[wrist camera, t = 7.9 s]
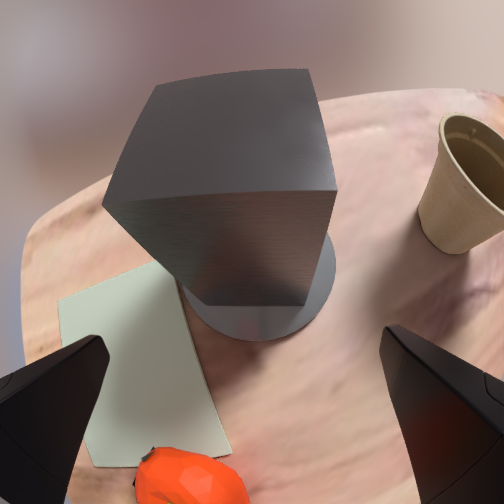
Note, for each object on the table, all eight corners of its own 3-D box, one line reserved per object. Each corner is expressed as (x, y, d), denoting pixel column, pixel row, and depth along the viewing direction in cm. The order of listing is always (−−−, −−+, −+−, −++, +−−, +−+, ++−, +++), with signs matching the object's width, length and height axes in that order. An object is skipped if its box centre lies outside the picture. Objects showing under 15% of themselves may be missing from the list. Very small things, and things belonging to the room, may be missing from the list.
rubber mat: (232, 451, 14) (231, 453, 14) (96, 465, 13) (94, 466, 13) (170, 257, 20) (168, 255, 20) (60, 302, 20) (57, 300, 19)
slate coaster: (359, 303, 17) (362, 301, 17) (207, 363, 17) (204, 363, 16) (296, 183, 22) (296, 178, 21) (170, 228, 21) (167, 225, 21)
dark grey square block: (304, 306, 17) (337, 190, 6) (205, 305, 18) (101, 205, 7) (300, 218, 20) (308, 69, 9) (214, 221, 20) (156, 85, 10)
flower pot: (482, 289, 16) (548, 244, 8) (393, 253, 18) (445, 182, 11) (480, 203, 19) (522, 147, 11) (404, 167, 22) (433, 96, 14)
